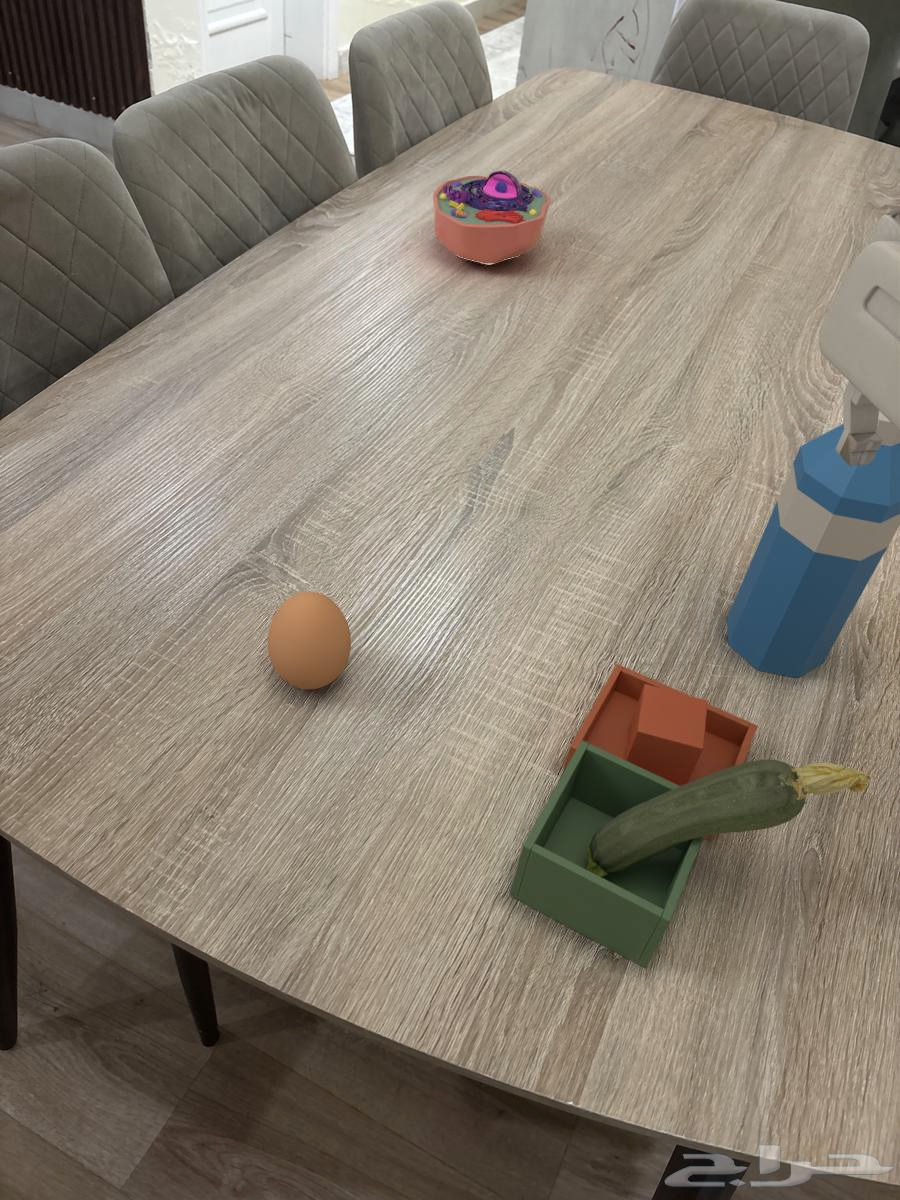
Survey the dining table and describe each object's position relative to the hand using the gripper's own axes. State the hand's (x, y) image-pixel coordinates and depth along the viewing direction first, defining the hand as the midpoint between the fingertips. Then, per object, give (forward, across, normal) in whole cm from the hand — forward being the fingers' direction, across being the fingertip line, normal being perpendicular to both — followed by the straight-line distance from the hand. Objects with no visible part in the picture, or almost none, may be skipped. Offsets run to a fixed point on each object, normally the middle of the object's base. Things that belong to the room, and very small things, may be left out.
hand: (896, 507), depth 54 cm
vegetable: (+28, +3, -15) cm, 31 cm away
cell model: (+29, -97, +7) cm, 101 cm away
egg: (+29, -18, -31) cm, 46 cm away
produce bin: (+29, +4, -13) cm, 32 cm away
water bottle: (+29, -15, +11) cm, 35 cm away
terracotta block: (+28, -5, -5) cm, 29 cm away
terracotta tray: (+29, -5, -5) cm, 30 cm away
